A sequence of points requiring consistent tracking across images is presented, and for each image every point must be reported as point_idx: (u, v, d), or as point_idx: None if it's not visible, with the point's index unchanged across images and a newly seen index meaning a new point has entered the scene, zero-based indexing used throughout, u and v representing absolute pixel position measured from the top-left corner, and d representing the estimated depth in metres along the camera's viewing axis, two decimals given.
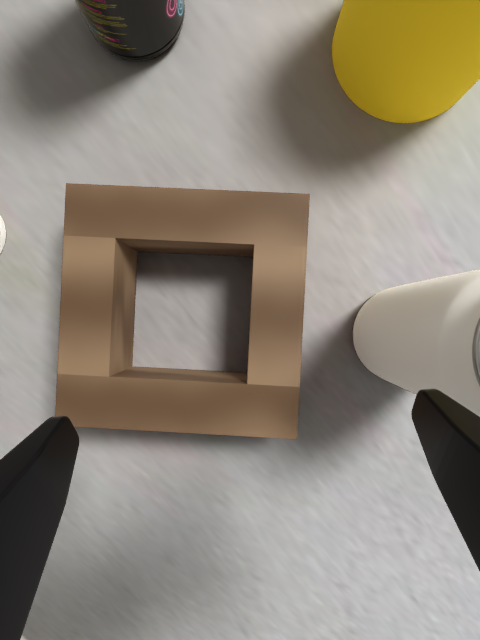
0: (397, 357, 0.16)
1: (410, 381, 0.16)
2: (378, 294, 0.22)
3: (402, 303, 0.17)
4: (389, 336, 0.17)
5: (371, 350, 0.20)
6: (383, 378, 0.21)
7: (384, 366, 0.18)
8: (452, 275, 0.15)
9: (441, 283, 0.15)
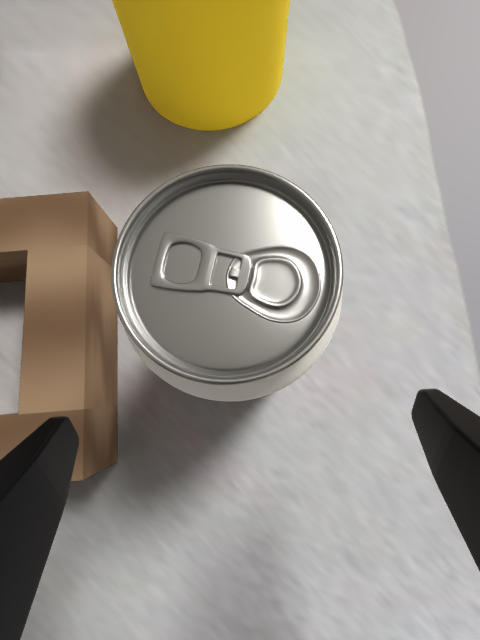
0: None
1: None
2: None
3: None
4: None
5: None
6: None
7: None
8: None
9: None
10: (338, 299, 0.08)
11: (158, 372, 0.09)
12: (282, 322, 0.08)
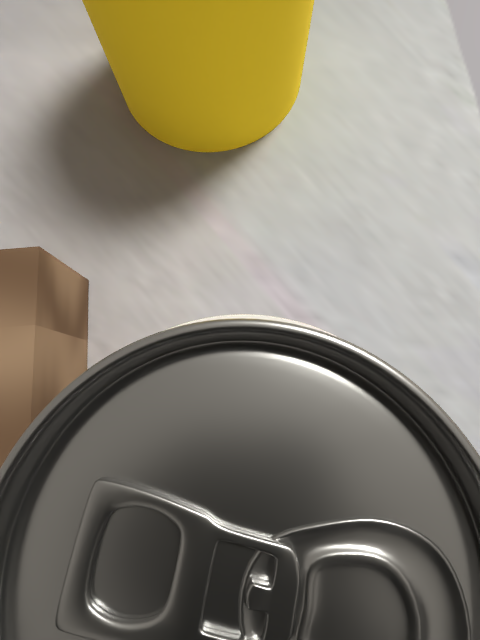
0: None
1: None
2: None
3: None
4: None
5: None
6: None
7: None
8: None
9: None
10: None
11: None
12: None
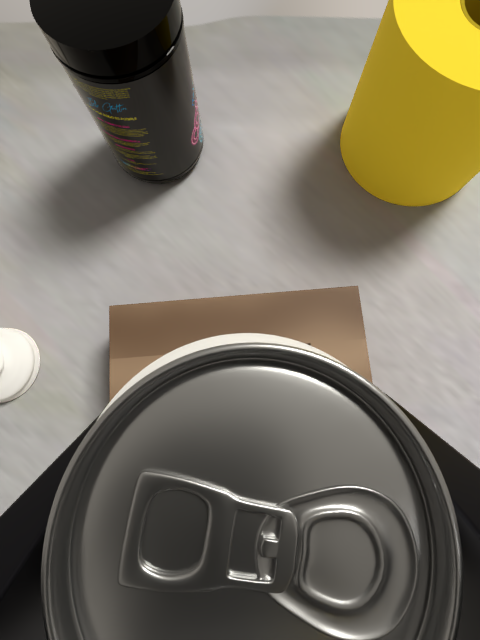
0: None
1: None
2: None
3: None
4: None
5: None
6: None
7: None
8: None
9: None
10: (460, 608, 0.04)
11: None
12: None
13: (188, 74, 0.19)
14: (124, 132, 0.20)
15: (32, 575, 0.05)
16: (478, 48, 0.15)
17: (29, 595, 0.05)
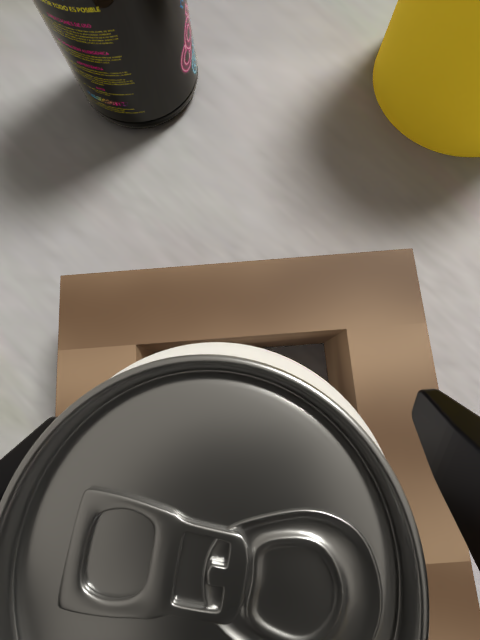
0: None
1: None
2: None
3: None
4: None
5: None
6: None
7: None
8: None
9: None
10: None
11: None
12: None
13: None
14: (85, 37, 0.14)
15: None
16: None
17: None
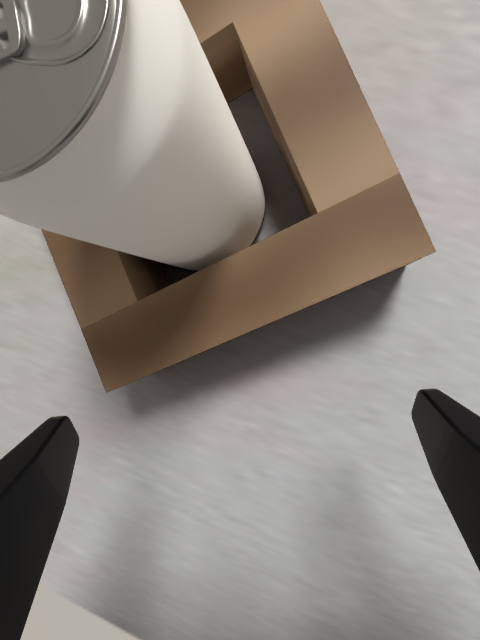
0: None
1: None
2: None
3: None
4: None
5: None
6: (183, 267, 0.16)
7: None
8: None
9: None
10: None
11: (9, 212, 0.07)
12: (78, 55, 0.06)
13: None
14: None
15: None
16: None
17: None
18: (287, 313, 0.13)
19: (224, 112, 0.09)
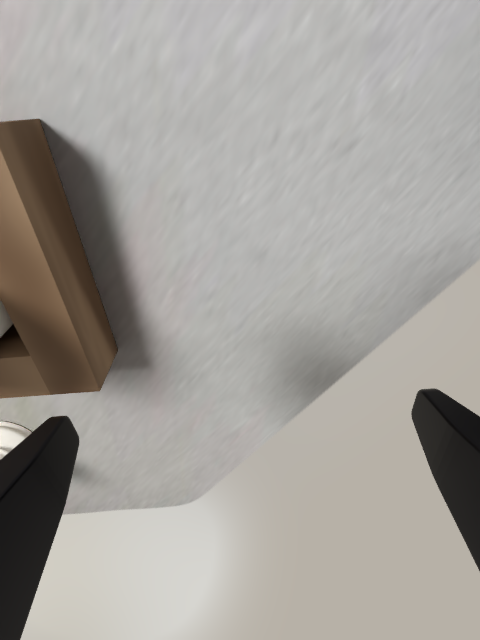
0: None
1: None
2: None
3: None
4: None
5: None
6: None
7: None
8: None
9: None
10: None
11: None
12: None
13: None
14: None
15: None
16: None
17: None
18: (44, 259, 0.16)
19: None
